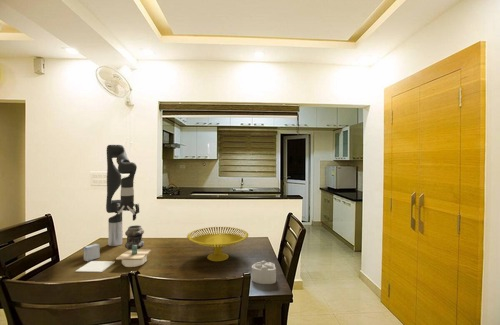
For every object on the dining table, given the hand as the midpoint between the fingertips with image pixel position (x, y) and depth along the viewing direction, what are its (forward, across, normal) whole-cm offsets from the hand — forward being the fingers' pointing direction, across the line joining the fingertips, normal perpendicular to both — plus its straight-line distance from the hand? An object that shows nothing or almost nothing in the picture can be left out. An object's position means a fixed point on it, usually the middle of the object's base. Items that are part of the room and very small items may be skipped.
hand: (127, 220), depth 162 cm
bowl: (+26, -6, +3) cm, 27 cm away
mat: (+26, +14, +9) cm, 31 cm away
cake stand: (+26, -56, -8) cm, 62 cm away
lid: (+21, -6, +3) cm, 22 cm away
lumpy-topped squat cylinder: (+24, -85, +22) cm, 91 cm away
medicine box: (+27, +24, -2) cm, 36 cm away
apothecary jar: (+27, +2, -14) cm, 30 cm away
